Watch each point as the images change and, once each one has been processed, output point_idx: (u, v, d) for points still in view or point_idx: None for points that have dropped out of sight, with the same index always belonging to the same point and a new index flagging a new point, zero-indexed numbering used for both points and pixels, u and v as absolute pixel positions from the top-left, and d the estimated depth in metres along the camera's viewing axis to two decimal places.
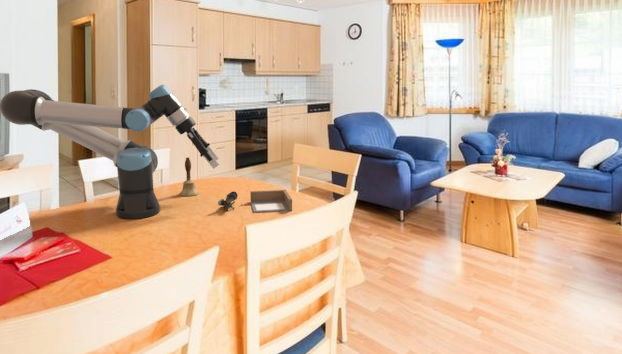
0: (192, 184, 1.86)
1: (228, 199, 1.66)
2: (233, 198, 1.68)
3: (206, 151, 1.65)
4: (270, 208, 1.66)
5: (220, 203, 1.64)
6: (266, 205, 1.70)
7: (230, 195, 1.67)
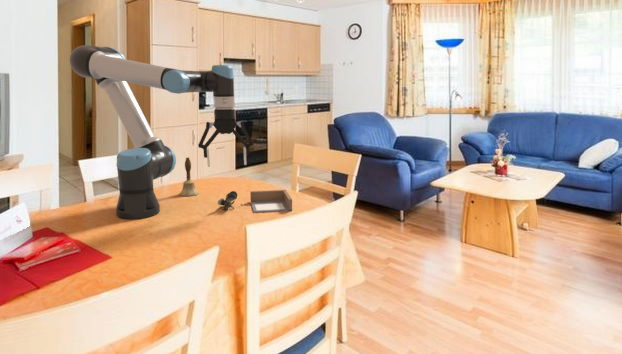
0: (192, 184, 1.86)
1: (228, 199, 1.67)
2: (233, 198, 1.69)
3: None
4: (270, 208, 1.66)
5: (220, 203, 1.64)
6: (266, 205, 1.70)
7: (230, 195, 1.68)
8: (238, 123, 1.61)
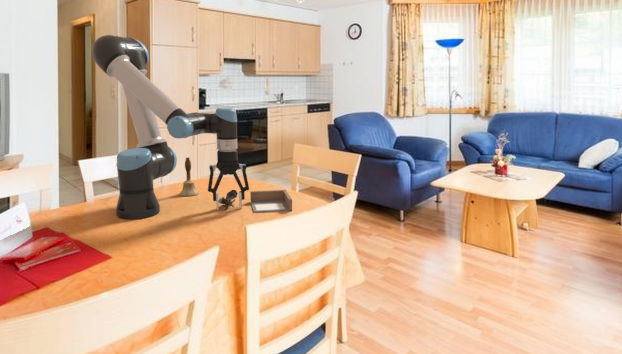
0: (192, 184, 1.86)
1: (228, 197, 1.68)
2: (233, 196, 1.70)
3: (208, 191, 1.63)
4: (270, 208, 1.66)
5: (220, 201, 1.66)
6: (266, 205, 1.70)
7: (230, 193, 1.69)
8: (240, 165, 1.64)
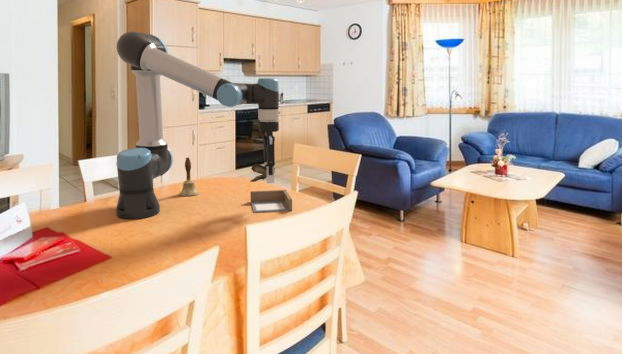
0: (192, 184, 1.86)
1: None
2: None
3: None
4: (270, 208, 1.66)
5: None
6: (266, 205, 1.70)
7: None
8: None
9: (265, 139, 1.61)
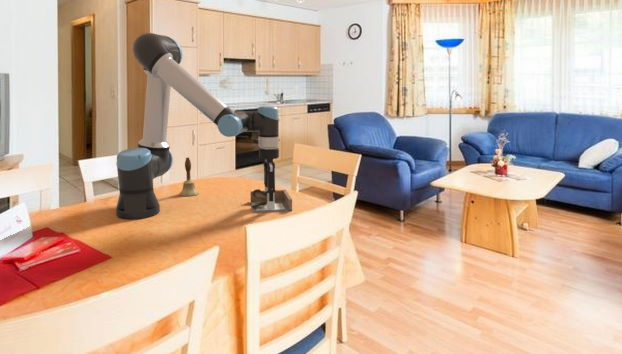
0: (192, 184, 1.86)
1: None
2: None
3: None
4: None
5: None
6: (266, 205, 1.70)
7: None
8: None
9: (265, 166, 1.63)
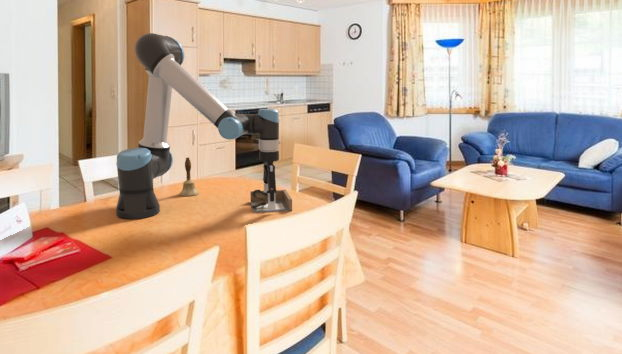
0: (192, 184, 1.86)
1: None
2: None
3: None
4: None
5: None
6: (266, 205, 1.70)
7: None
8: None
9: (265, 168, 1.63)
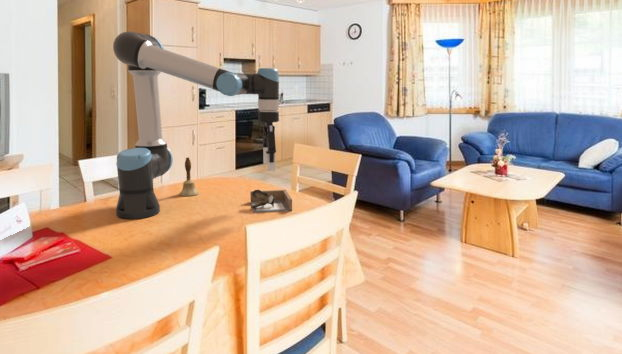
0: (192, 184, 1.86)
1: None
2: None
3: (275, 152, 1.54)
4: (270, 208, 1.66)
5: None
6: (266, 205, 1.70)
7: None
8: None
9: (265, 129, 1.60)
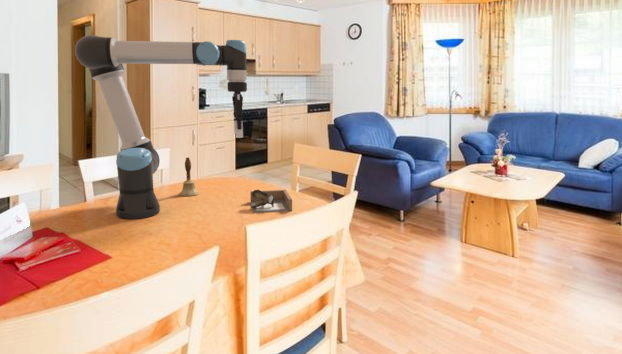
0: (192, 184, 1.86)
1: None
2: None
3: (242, 119, 1.64)
4: (270, 208, 1.66)
5: None
6: (266, 205, 1.70)
7: None
8: None
9: (233, 98, 1.69)
